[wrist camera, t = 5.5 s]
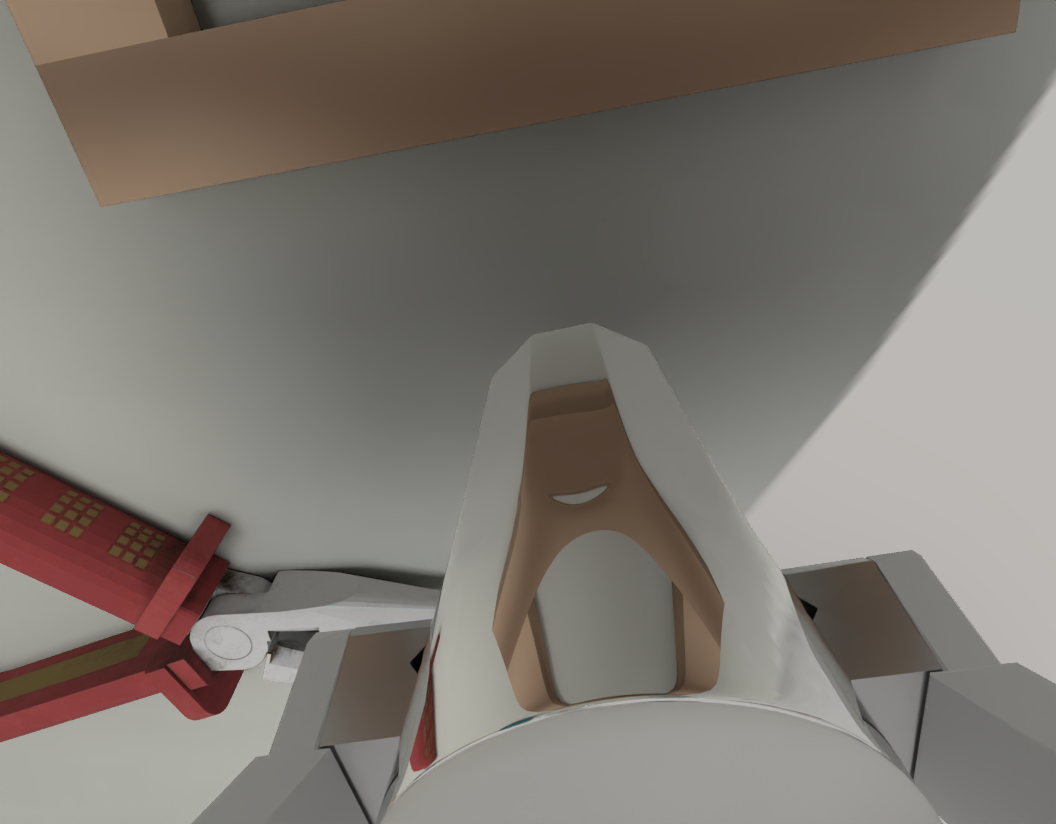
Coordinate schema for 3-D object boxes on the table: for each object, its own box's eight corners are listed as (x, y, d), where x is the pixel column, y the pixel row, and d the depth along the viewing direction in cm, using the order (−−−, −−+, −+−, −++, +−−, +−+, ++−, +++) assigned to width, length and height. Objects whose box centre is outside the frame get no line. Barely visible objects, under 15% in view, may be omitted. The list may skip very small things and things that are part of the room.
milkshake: (444, 531, 14) (318, 1393, 5) (456, 272, 11) (241, 1165, 3) (669, 546, 14) (900, 1395, 6) (734, 297, 11) (1377, 1184, 3)
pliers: (484, 739, 24) (479, 817, 22) (-156, 686, 23) (-237, 762, 21) (526, 443, 19) (526, 504, 16) (-318, 351, 17) (-455, 403, 15)
